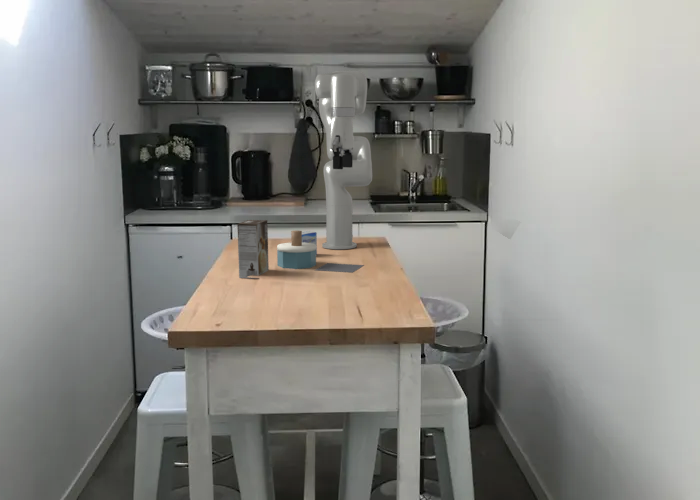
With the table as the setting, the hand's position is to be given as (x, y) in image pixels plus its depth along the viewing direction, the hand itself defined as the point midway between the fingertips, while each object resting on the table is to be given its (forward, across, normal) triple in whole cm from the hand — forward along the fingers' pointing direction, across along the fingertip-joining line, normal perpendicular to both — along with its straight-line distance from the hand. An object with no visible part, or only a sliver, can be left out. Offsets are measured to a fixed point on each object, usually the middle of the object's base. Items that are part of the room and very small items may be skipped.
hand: (342, 168), depth 231 cm
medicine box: (+31, -1, -14) cm, 34 cm away
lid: (+24, +16, -10) cm, 31 cm away
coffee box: (+30, +30, -18) cm, 46 cm away
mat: (+30, +16, +4) cm, 34 cm away
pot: (+30, +16, -10) cm, 36 cm away
